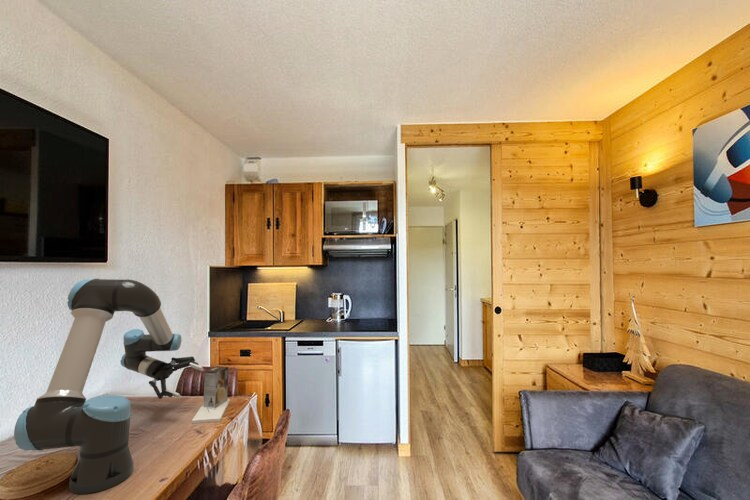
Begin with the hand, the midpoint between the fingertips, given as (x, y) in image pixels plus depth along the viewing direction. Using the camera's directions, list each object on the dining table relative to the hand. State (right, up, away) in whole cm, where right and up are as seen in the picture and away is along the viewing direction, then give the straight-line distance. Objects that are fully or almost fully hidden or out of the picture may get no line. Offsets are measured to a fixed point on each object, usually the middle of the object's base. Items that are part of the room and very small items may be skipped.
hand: (191, 382), depth 145 cm
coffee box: (+5, -15, +11) cm, 19 cm away
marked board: (+7, -15, +5) cm, 17 cm away
